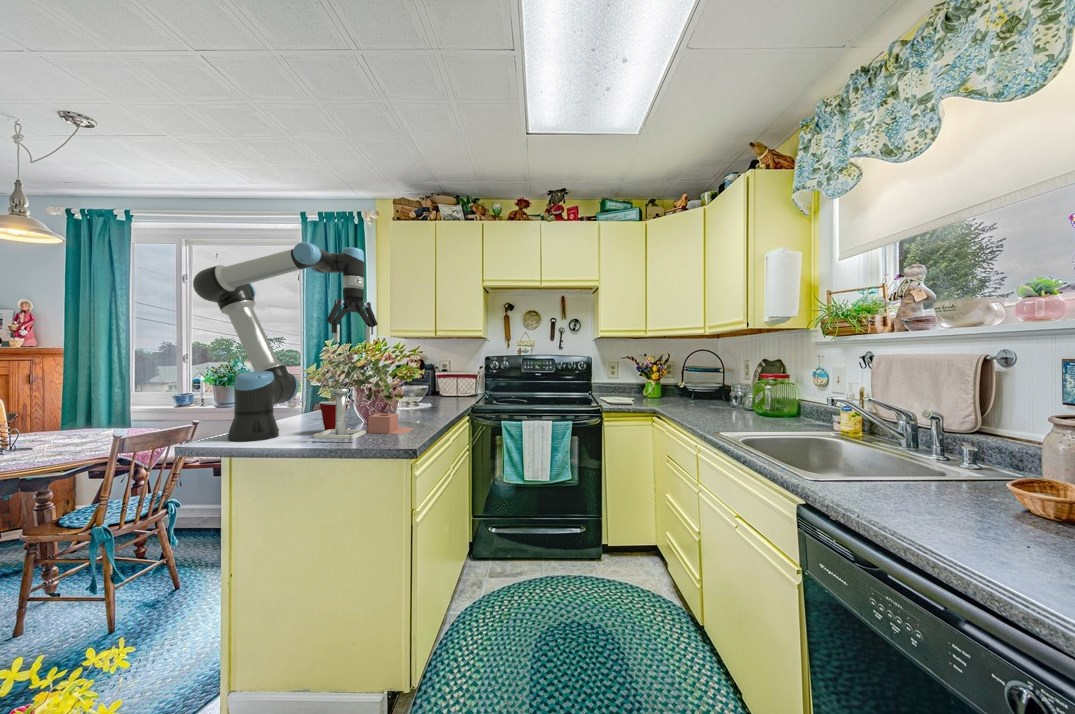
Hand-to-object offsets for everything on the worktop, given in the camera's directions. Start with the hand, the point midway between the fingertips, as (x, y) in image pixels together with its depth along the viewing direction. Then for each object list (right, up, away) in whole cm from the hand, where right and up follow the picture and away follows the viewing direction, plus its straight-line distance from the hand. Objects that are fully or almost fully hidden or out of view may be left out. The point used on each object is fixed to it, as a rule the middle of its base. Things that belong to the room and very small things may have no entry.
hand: (353, 342), depth 165 cm
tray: (+3, -35, -16) cm, 38 cm away
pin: (+3, -34, -16) cm, 38 cm away
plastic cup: (-6, -35, -4) cm, 35 cm away
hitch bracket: (+17, -35, -5) cm, 39 cm away
